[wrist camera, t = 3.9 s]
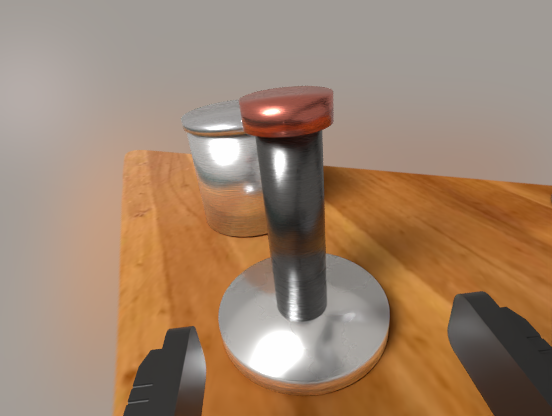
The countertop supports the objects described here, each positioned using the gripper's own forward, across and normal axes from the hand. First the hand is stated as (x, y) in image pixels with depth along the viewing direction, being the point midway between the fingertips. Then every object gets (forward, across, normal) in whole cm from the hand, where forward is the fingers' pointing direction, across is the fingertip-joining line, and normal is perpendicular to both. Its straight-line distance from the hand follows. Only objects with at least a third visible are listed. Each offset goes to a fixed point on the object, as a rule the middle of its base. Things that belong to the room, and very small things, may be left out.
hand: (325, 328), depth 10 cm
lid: (+8, 0, +8) cm, 11 cm away
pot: (+22, +3, +8) cm, 23 cm away
